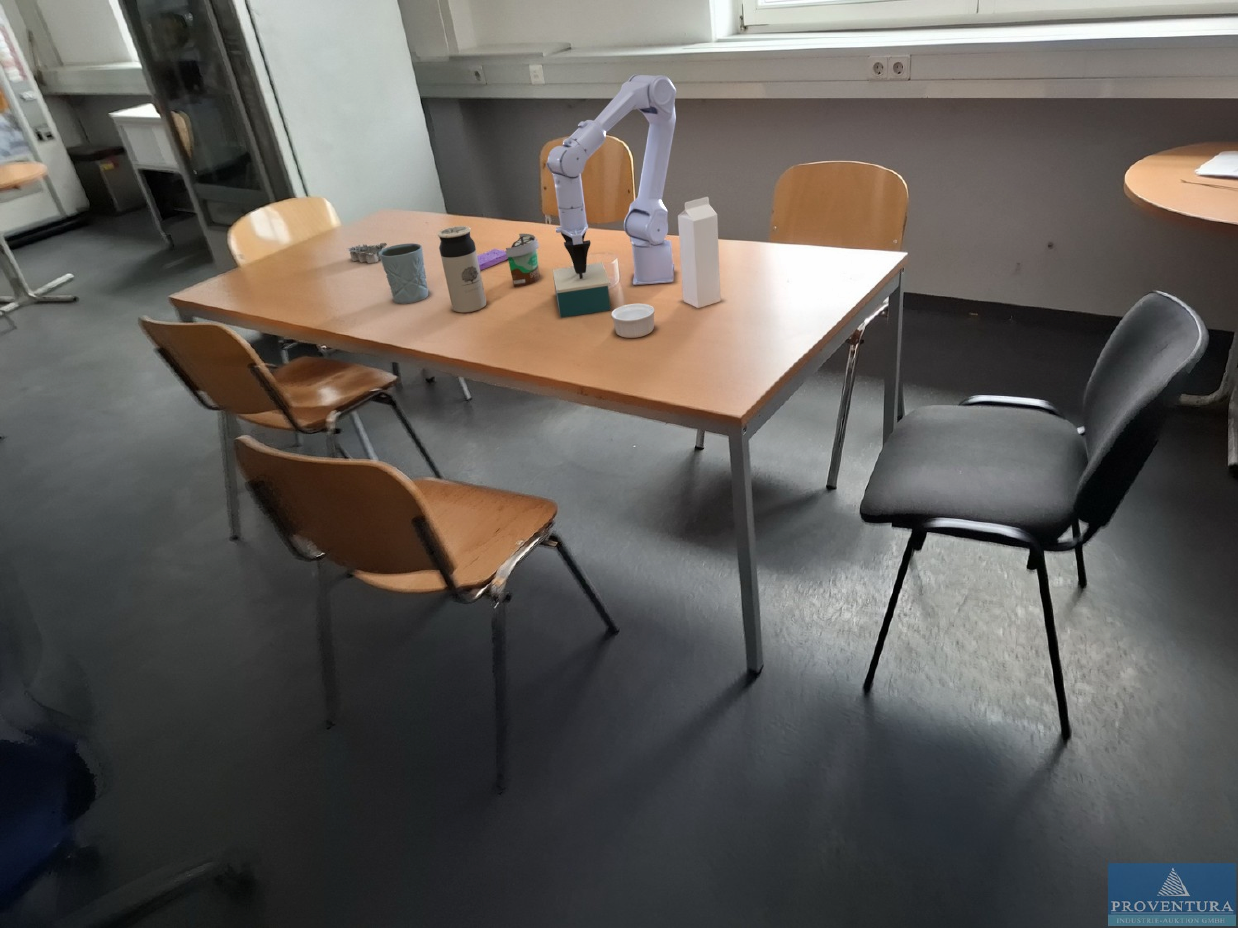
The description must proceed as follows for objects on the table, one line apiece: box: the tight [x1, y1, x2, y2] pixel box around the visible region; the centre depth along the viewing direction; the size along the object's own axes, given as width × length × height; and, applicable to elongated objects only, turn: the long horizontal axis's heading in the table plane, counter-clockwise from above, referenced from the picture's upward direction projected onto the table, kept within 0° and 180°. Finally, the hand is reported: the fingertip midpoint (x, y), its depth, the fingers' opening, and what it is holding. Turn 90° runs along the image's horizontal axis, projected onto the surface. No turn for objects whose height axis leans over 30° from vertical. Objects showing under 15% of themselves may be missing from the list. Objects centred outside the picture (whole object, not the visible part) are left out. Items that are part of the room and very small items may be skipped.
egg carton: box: [346, 242, 388, 264], centre depth 233 cm, size 11×8×4 cm
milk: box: [677, 196, 722, 309], centre depth 174 cm, size 6×6×22 cm
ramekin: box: [610, 303, 655, 339], centre depth 168 cm, size 9×9×4 cm
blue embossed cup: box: [379, 242, 429, 305], centre depth 199 cm, size 10×10×12 cm
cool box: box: [552, 275, 612, 319], centre depth 185 cm, size 11×15×6 cm
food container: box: [505, 233, 540, 288], centre depth 201 cm, size 12×6×10 cm, turn 169°
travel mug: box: [436, 225, 487, 314], centre depth 187 cm, size 8×8×18 cm
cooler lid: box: [551, 262, 611, 293], centre depth 183 cm, size 12×15×4 cm
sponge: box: [477, 248, 508, 271], centre depth 219 cm, size 7×13×2 cm, turn 136°
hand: (579, 267), depth 182 cm, fingers open, 7 cm apart
